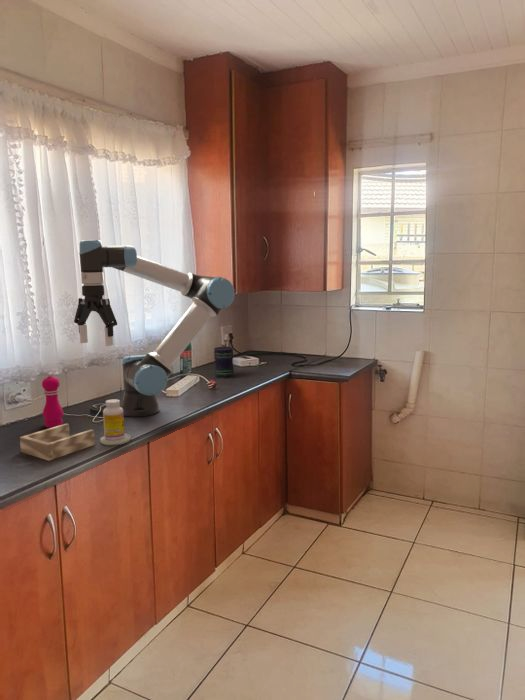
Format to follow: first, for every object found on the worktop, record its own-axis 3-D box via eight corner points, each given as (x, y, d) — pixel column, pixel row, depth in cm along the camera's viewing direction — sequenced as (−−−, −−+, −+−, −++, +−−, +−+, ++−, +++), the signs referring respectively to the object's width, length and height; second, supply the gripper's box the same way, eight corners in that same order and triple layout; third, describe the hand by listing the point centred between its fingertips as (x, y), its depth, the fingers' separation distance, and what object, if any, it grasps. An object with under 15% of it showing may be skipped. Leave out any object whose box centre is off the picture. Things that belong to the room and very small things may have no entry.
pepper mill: (66, 422, 210) (63, 370, 207) (60, 428, 203) (56, 374, 200) (47, 422, 210) (43, 371, 207) (40, 428, 203) (36, 375, 199)
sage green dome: (116, 434, 195) (116, 431, 195) (137, 439, 189) (136, 436, 189) (94, 442, 187) (93, 439, 186) (114, 447, 181) (114, 444, 181)
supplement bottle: (126, 439, 186) (124, 402, 184) (105, 442, 183) (103, 404, 181) (123, 433, 192) (121, 397, 190) (103, 436, 190) (101, 399, 187)
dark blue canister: (226, 379, 281) (225, 350, 279) (210, 377, 286) (210, 349, 284) (237, 375, 290) (236, 347, 287) (222, 374, 295) (221, 346, 292)
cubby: (67, 437, 192) (66, 423, 191) (94, 444, 184) (93, 430, 183) (20, 452, 178) (19, 437, 177) (49, 460, 170) (47, 445, 169)
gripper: (61, 284, 199) (65, 343, 202) (108, 285, 185) (112, 348, 189) (78, 283, 205) (82, 340, 208) (125, 284, 191) (128, 345, 195)
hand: (96, 344), depth 199 cm, fingers open, 13 cm apart
